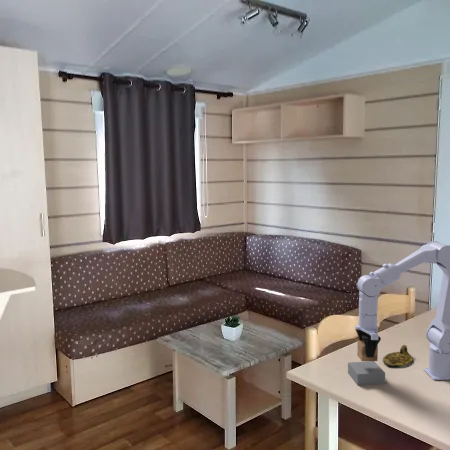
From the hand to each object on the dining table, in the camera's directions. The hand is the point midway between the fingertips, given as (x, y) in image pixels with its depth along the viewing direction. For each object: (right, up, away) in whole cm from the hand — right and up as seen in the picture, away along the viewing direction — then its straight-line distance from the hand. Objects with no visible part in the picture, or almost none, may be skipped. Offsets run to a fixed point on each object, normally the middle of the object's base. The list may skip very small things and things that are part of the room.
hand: (367, 353), depth 154 cm
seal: (+15, -7, +15) cm, 22 cm away
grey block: (0, -9, +1) cm, 9 cm away
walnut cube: (0, -2, 0) cm, 2 cm away
